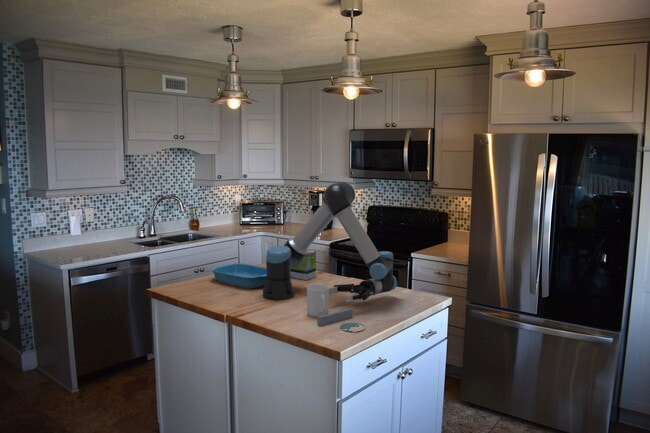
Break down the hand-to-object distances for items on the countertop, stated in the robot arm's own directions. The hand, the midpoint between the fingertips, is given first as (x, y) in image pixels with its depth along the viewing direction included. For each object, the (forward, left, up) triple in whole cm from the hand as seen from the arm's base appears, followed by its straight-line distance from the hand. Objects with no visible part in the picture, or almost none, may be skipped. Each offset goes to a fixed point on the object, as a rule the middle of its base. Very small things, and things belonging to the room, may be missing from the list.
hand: (335, 295), depth 229 cm
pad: (+2, -23, -7) cm, 24 cm away
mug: (-8, -5, -7) cm, 12 cm away
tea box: (-8, +61, -7) cm, 62 cm away
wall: (-3, -14, -7) cm, 16 cm away
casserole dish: (-39, +54, -7) cm, 67 cm away
